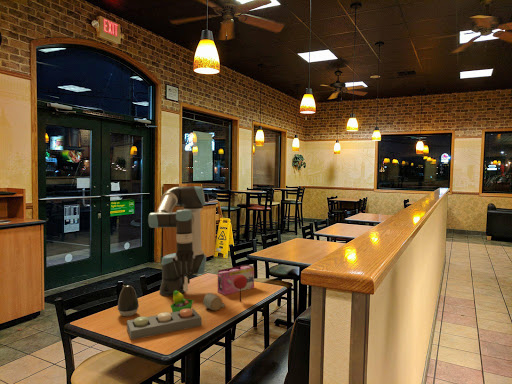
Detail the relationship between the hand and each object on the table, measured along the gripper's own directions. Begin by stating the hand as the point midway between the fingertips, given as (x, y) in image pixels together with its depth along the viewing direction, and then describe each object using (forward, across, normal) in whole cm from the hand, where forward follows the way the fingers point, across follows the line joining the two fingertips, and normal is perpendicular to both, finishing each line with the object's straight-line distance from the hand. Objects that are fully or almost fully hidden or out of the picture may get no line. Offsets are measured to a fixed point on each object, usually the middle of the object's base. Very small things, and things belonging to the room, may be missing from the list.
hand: (185, 290), depth 176 cm
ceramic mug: (+16, +19, +12) cm, 28 cm away
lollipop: (+16, +36, +15) cm, 42 cm away
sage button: (+13, -21, 0) cm, 24 cm away
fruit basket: (+16, +2, +15) cm, 22 cm away
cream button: (+13, -10, 0) cm, 16 cm away
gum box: (+16, +42, +35) cm, 57 cm away
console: (+16, -10, 0) cm, 19 cm away
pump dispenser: (+16, -23, +25) cm, 38 cm away
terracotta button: (+13, 0, 0) cm, 13 cm away
